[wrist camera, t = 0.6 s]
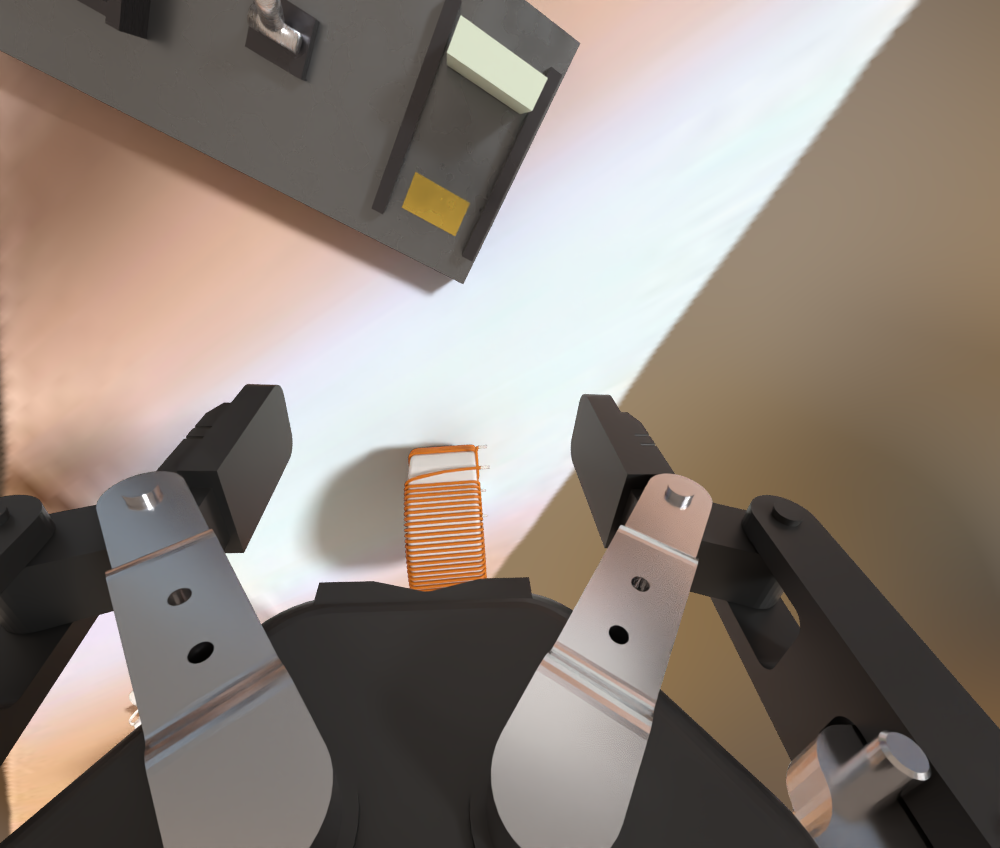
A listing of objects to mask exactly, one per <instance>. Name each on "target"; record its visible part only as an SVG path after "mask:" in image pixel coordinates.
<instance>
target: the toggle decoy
mask: <svg viewBox="0 0 1000 848" xmlns="http://www.w3.org/2000/svg"><path fill="white" fill-rule="evenodd" d="M254 2H255V4H251V6H250V8H249V11H248V16H247V22H248V25H249V26H250V27H252V28H253V29H255V30H257V31H258V32H260V33H261V34H263V35H265V36H266V37H268V38H270V39H271V40H273V41H275V42H276V43H278V44H279V45H281V46H283V47H284V48H286V49H288V50H289V51H291V52H293V53H294V54H296V55H297V54H298V53H299V51H300V48H301V44H302V34H301V33H299V32H298V31H296V30H295V29H293V28H291V27H290V26H288V25H287V24H285V18H284V14H283V10H282V6H281V1H280V0H254Z"/></svg>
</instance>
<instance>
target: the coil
mask: <svg viewBox="0 0 1000 848" xmlns="http://www.w3.org/2000/svg"><path fill="white" fill-rule="evenodd" d="M481 448H487V445H483V446H477V447H475V446H474V445H457V446H442V447H427V448H416V449H413V450H412V451H411V452H410V454H409V456H408V463H409V473H408V480H407V481H406V482H405V484H404V485H405V488H404V491H405V493H404V496H405V497H404V501H405V502H404V506H405V507H404V511H405V513H404V516H405V517H406V518H404V521H406V522H407V523H405V524H404V526H406V527H407V528H406V529H404V531H405V532H408V533H406V534H405V535H404V536H405V537H406V540H405V543H406V545H405V548H406V551H405V553H406V559H407V561H406V563H407V569H408V570H407V573H408V578H409V579H408V581H409V586H410V589H414V590H419V591H433V590H437V589H441V588H445V587H448V586H452V585H456V584H460V583H464V582H468V581H472V580H476V579H485V578H487V575H486V558H485V543H484V532H483V530H484V528H483V526H482V525H483V523H482V522H481V521H482V520H483V518H482V517H487V515H482V514H483V513H482V502H481V492H485V491H486V489H482V490H481V488H480V482H479V481H478V479H479V469H489V466H479V465H478V452H477V451H478V449H481Z"/></svg>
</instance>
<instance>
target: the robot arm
mask: <svg viewBox="0 0 1000 848" xmlns="http://www.w3.org/2000/svg"><path fill="white" fill-rule="evenodd" d="M291 453H292V433H291V428H290V423H289V418H288V413H287V408H286V403H285V398H284V394H283V391H282V388H281V387H280V386H279V385H260V384H247V385H245V386H244V387H243V389H242V390H241V391H240V392H239V394H238V395H237V396H236V397H235V399H234V400H233V401H232V402H231V403H223V404H221V405H219V406H217V407H216V408H214V409H212V410H211V411H209V412H207V413H206V414H205V415H204V416H203V417H202V419H201V420H200V421H199V422H198V423H197V424H196V425H195V428H193V429H192V430H191V431H190V432H189V434H188V435H187V436H186V439H183V441H182V442H181V443H180V444H179V445H178V446H177V448H176V449H175V450H174V451H173V452H172V453H171V455H170V456H169V457H168V458H167V459H166V460H165V461H164V463H163V464H162V465H161V466H160V467H159V468H158V470H157V471H155V472H148V473H143V474H139V475H135V476H133V477H130V478H127V479H125V480H123V481H121V482H119V483H117V484H115V485H114V486H112V487H111V488H109V489H108V490H107V491H105V492H104V493H103V494H102V496H101V497H100V498H99V500H98V501H97V505H93V506H88V507H83V508H78V509H72V510H67V511H62V512H57V513H51V514H48V512H47V511H46V509H45V507H44V506H43V504H42V503H41V501H40V500H39V499H37V498H36V497H33V496H28V495H11V496H4V497H0V766H1V765H2V763H3V762H4V760H5V759H6V757H7V756H8V754H9V752H10V751H11V749H12V748H13V746H14V745H15V743H16V742H17V740H18V739H19V737H20V736H21V734H22V732H23V731H24V729H25V728H26V726H27V725H28V723H29V722H30V720H31V719H32V717H33V716H34V714H35V713H36V711H37V709H38V708H39V706H40V705H41V703H42V702H43V700H44V699H45V697H46V696H47V694H48V693H49V691H50V689H51V688H52V686H53V685H54V683H55V682H56V680H57V679H58V677H59V676H60V674H61V673H62V671H63V669H64V668H65V666H66V665H67V663H68V662H69V660H70V659H71V657H72V656H73V654H74V653H75V651H76V649H77V648H78V646H79V645H80V643H81V642H82V640H83V639H84V637H85V636H86V634H87V633H88V631H89V629H90V628H91V626H92V625H93V623H94V622H95V620H96V619H97V617H98V616H99V615H100V614H104V613H108V612H111V611H114V614H115V618H116V622H117V626H118V630H119V634H120V638H121V643H122V647H123V651H124V655H125V659H126V663H127V667H128V671H129V675H130V679H131V684H132V688H133V692H134V696H135V700H136V704H137V708H138V712H139V716H140V720H141V725H140V726H138V727H137V728H136V729H135V730H134V731H133V732H131V733H130V734H129V735H128V736H127V737H125V738H124V739H123V740H122V741H121V742H120V743H118V744H117V745H116V746H115V747H114V748H112V749H111V750H110V751H109V752H108V753H107V754H105V755H104V756H103V757H102V758H101V759H99V760H98V761H97V762H96V763H95V764H94V765H92V766H91V767H90V768H89V769H88V770H86V771H85V772H84V773H83V774H82V775H81V776H79V777H78V778H77V779H76V780H75V781H73V782H72V783H71V784H70V785H69V786H68V787H66V788H65V789H64V790H63V791H62V792H60V793H59V794H58V795H57V796H56V797H54V798H53V799H52V800H51V801H50V802H49V803H47V804H46V805H45V806H44V807H43V808H41V809H40V810H39V811H38V812H37V813H36V814H34V815H33V816H32V817H31V818H30V819H28V820H27V821H26V822H25V823H24V824H22V825H21V826H20V827H19V828H18V829H17V830H15V831H14V832H13V833H12V834H11V835H9V836H8V837H7V838H6V839H5V840H4V841H2V842H1V843H0V848H1000V729H999V728H998V727H997V726H996V725H995V723H994V722H993V721H992V720H991V719H990V717H989V716H988V715H987V714H986V713H985V712H984V711H983V709H982V708H981V707H980V706H979V705H978V704H977V703H976V701H975V700H974V699H973V698H972V697H971V696H970V694H969V693H968V692H967V691H966V690H965V689H964V688H963V686H962V685H961V684H960V683H959V682H958V681H957V680H956V678H955V677H954V676H953V675H952V674H951V673H950V671H949V670H948V669H947V668H946V667H945V666H944V665H943V664H942V662H941V661H940V660H939V659H938V658H937V657H936V656H935V654H934V653H933V652H932V651H931V650H930V649H929V647H928V646H927V645H926V644H925V643H924V642H923V640H921V638H920V637H919V636H918V635H917V634H916V632H915V631H914V630H913V629H912V628H911V627H910V626H909V624H908V623H907V622H906V621H905V620H904V619H903V618H902V616H901V615H900V614H899V613H898V612H897V611H896V609H895V608H894V607H893V606H892V605H891V604H890V603H889V601H888V600H887V599H886V598H885V597H884V596H883V595H882V594H881V592H880V591H879V590H878V589H877V588H876V587H875V585H874V584H873V583H872V582H871V581H870V580H869V578H868V577H867V576H866V575H865V574H864V573H863V572H862V570H861V569H860V568H859V567H858V566H857V565H856V564H855V562H854V561H853V560H852V559H851V558H850V557H849V556H848V555H847V553H846V552H845V551H844V550H843V549H842V548H841V546H840V545H839V544H838V543H837V542H836V541H835V540H834V538H833V537H832V536H831V535H830V534H829V533H828V531H827V530H826V529H825V528H824V527H823V526H822V525H821V523H820V522H819V521H818V520H817V519H816V518H815V517H814V516H813V515H812V514H811V513H810V512H809V511H808V510H806V509H805V508H803V507H801V506H800V505H798V504H796V503H794V502H792V501H790V500H787V499H784V498H781V497H777V496H771V495H762V496H758V497H756V498H755V499H753V500H752V502H751V503H750V505H749V507H748V509H747V510H742V509H738V508H733V507H729V506H724V505H720V504H716V503H713V502H712V499H711V497H710V495H709V493H708V492H707V491H706V490H705V489H704V488H703V487H702V486H701V485H699V484H698V483H696V482H694V481H693V480H691V479H688V478H686V477H683V476H680V475H676V474H675V473H674V472H673V470H672V469H671V467H670V466H669V464H668V463H667V461H666V460H665V458H664V457H663V455H662V454H661V452H660V451H659V449H658V448H657V446H655V443H654V441H653V440H652V439H651V437H650V436H649V434H648V432H647V431H646V429H645V428H644V426H643V425H642V423H641V422H640V421H638V420H637V419H636V418H634V417H633V416H631V415H630V414H629V413H627V412H621V411H620V410H619V408H618V407H617V405H616V403H615V402H614V400H613V398H612V397H611V396H610V395H595V394H583V395H582V397H581V399H580V402H579V406H578V411H577V416H576V421H575V426H574V430H573V435H572V440H571V457H572V462H573V464H574V467H575V470H576V472H577V475H578V478H579V480H580V483H581V486H582V488H583V491H584V494H585V496H586V499H587V502H588V504H589V507H590V510H591V513H592V515H593V518H594V521H595V523H596V526H597V529H598V531H599V534H600V537H601V539H602V542H603V545H604V547H605V548H608V549H607V550H606V552H605V554H604V556H603V558H602V559H601V561H600V563H599V565H598V567H597V569H596V571H595V572H594V574H593V576H592V578H591V579H590V581H589V583H588V585H587V587H586V588H585V590H584V592H583V594H582V596H581V597H580V600H579V601H578V603H577V605H576V607H575V608H574V610H571V609H570V608H568V607H566V606H564V605H563V604H561V603H558V602H556V601H554V600H552V599H549V598H546V597H543V596H540V595H536V594H532V593H531V587H530V581H529V577H528V578H527V577H526V578H485V579H476V580H472V581H468V582H464V583H460V584H456V585H452V586H448V587H445V588H441V589H437V590H433V591H419V590H414V589H409V588H404V587H399V586H394V585H389V584H384V583H379V582H374V581H365V582H325V583H319V586H318V589H317V593H316V596H315V600H313V601H309V602H306V603H303V604H300V605H297V606H294V607H292V608H290V609H287V610H285V611H283V612H281V613H279V614H277V615H275V616H274V617H272V618H270V619H268V620H267V621H265V622H264V623H262V624H261V623H260V621H259V619H258V617H257V615H256V613H255V611H254V609H253V607H252V605H251V603H250V601H249V599H248V597H247V595H246V593H245V591H244V590H243V588H242V586H241V584H240V582H239V580H238V578H237V576H236V574H235V572H234V570H233V568H232V566H231V564H230V562H229V560H228V558H227V556H226V554H225V553H244V552H245V550H246V548H247V545H248V543H249V541H250V539H251V537H252V535H253V533H254V531H255V529H256V527H257V525H258V523H259V521H260V519H261V517H262V515H263V513H264V511H265V508H266V506H267V504H268V502H269V500H270V498H271V496H272V494H273V492H274V490H275V488H276V486H277V484H278V482H279V480H280V478H281V476H282V474H283V471H284V469H285V467H286V465H287V463H288V461H289V459H290V456H291ZM689 591H690V592H694V593H698V594H702V595H705V596H709V597H711V599H712V602H713V603H714V606H715V607H716V610H717V612H718V614H719V615H720V618H721V619H722V622H723V624H724V626H725V628H726V630H727V632H728V634H729V636H730V638H731V640H732V642H733V644H734V646H735V648H736V650H737V652H738V654H739V656H740V658H741V660H742V662H743V664H744V666H745V668H746V670H747V672H748V674H749V676H750V678H751V680H752V682H753V684H754V687H755V689H756V691H757V693H758V695H759V696H760V698H761V701H762V703H763V705H764V707H765V709H766V711H767V713H768V715H769V717H770V719H771V721H772V722H773V725H774V727H775V729H776V731H777V733H778V735H779V737H780V739H781V741H782V743H783V745H784V747H785V749H786V751H787V753H788V755H789V757H790V759H791V761H792V762H791V763H790V765H789V767H788V770H787V776H786V780H787V789H788V793H789V796H790V800H791V803H792V805H793V812H791V811H790V810H789V809H788V808H787V807H786V806H785V805H784V804H783V803H782V802H781V801H780V800H779V799H778V798H777V797H776V796H775V795H774V794H773V793H772V792H771V791H770V790H769V789H767V788H766V787H765V786H764V785H763V784H762V783H761V782H760V781H759V780H758V779H757V778H756V777H754V776H753V775H752V774H751V773H750V772H749V771H748V770H747V769H746V768H745V767H744V766H743V765H742V764H740V763H739V762H738V761H737V760H736V759H735V758H734V757H733V756H732V755H731V754H730V753H728V752H727V751H726V750H725V749H724V748H723V747H722V746H721V745H720V744H719V743H718V742H717V741H716V740H715V739H713V738H712V737H711V736H710V735H709V734H708V733H707V732H706V731H705V730H704V729H703V728H702V727H701V726H699V725H698V724H697V723H696V722H695V721H694V720H693V719H692V718H691V717H690V716H689V715H688V714H687V713H685V712H684V711H683V710H682V709H681V708H680V707H679V706H678V705H677V704H676V703H675V702H674V701H672V700H671V699H670V698H669V697H668V696H667V695H666V694H665V693H664V692H663V691H661V689H660V687H661V684H662V681H663V677H664V674H665V670H666V667H667V664H668V661H669V657H670V654H671V651H672V647H673V644H674V641H675V638H676V634H677V631H678V628H679V624H680V621H681V618H682V614H683V611H684V608H685V604H686V601H687V598H688V595H689ZM783 592H785V594H786V595H787V597H788V598H789V600H790V601H791V603H792V604H793V606H794V607H795V609H796V611H797V613H798V616H799V620H800V627H799V625H798V624H797V622H796V621H795V619H794V618H793V616H792V615H791V613H790V611H789V610H788V608H787V607H786V605H785V604H784V602H783V601H782V599H781V595H782V593H783Z"/></svg>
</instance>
